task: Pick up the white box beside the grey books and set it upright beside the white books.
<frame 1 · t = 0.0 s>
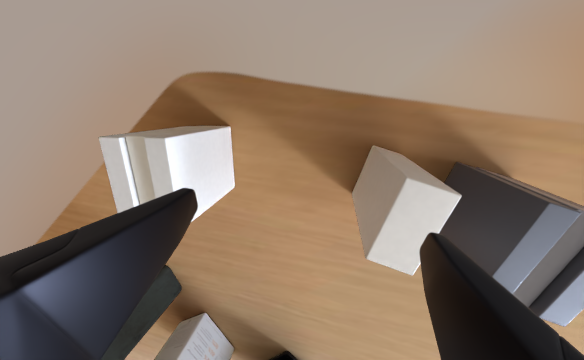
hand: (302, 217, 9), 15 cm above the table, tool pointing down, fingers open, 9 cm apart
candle: (163, 279, 33), on the table
small box: (208, 333, 35), on the table
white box: (375, 175, 23), on the table
grey books: (464, 201, 22), on the table
white books: (211, 156, 26), on the table
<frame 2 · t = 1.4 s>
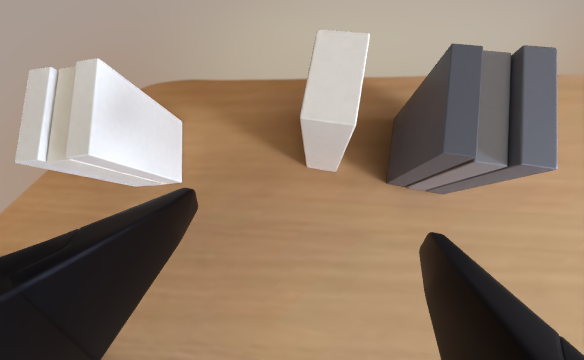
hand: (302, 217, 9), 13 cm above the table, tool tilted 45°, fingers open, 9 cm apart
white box: (325, 143, 23), on the table
grey books: (418, 154, 22), on the table
white books: (159, 154, 25), on the table
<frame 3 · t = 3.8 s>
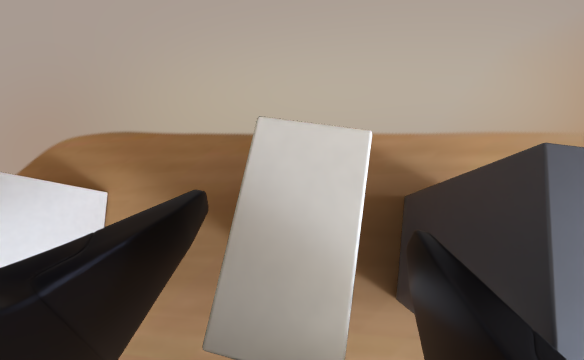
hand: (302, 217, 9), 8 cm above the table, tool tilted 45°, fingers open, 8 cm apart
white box: (306, 231, 16), on the table
grey books: (442, 253, 15), on the table
white books: (71, 240, 17), on the table
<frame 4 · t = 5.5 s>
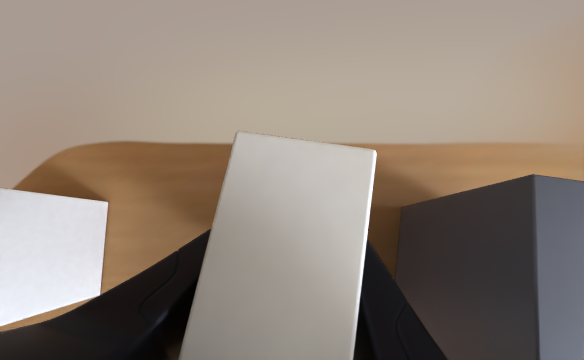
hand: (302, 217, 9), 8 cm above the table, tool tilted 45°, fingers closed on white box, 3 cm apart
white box: (303, 243, 15), point 1 cm above the table, touching gripper
grey books: (438, 263, 15), on the table
white books: (73, 249, 18), on the table
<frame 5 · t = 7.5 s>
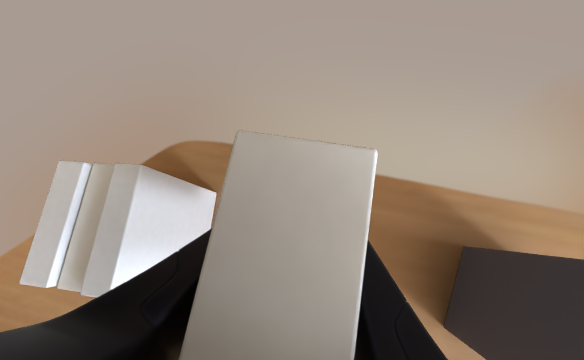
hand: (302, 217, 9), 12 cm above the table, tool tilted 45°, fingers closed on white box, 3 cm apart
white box: (303, 243, 15), point 6 cm above the table, touching gripper
grey books: (487, 299, 18), on the table
white books: (185, 225, 22), on the table
when the fingers open (7 cm above the table, at t = 10.1 s): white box stays where it is, on the table.
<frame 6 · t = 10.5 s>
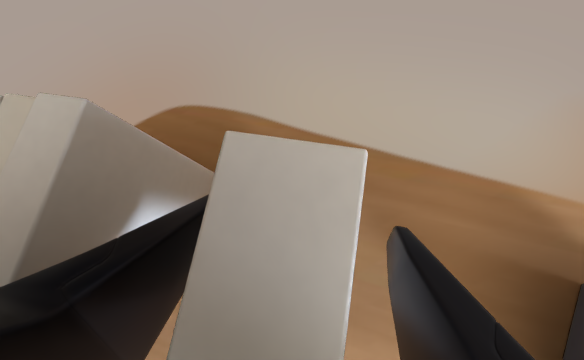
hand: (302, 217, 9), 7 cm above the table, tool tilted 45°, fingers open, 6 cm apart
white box: (299, 244, 15), on the table
white books: (175, 218, 16), on the table
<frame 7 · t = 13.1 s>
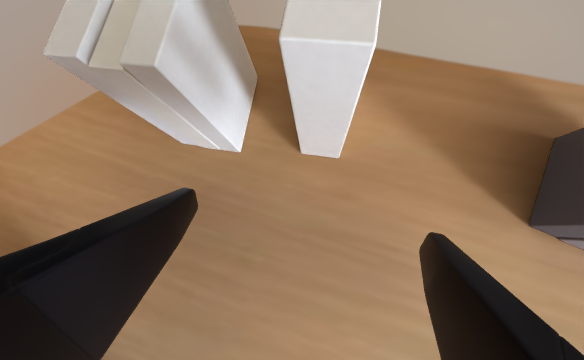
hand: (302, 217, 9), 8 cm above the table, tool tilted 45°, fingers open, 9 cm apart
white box: (324, 123, 18), on the table
white books: (220, 110, 19), on the table
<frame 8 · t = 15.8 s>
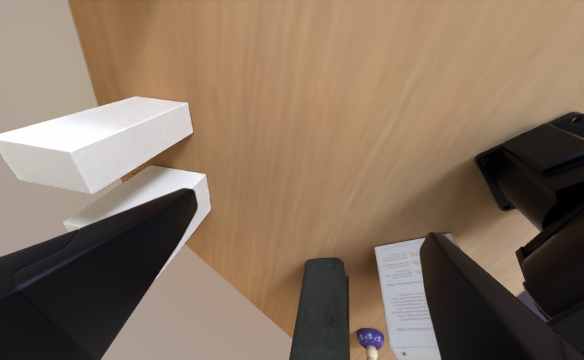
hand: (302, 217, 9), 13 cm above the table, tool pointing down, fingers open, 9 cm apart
toy lamp: (369, 332, 37), on the table
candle: (327, 269, 30), on the table
small box: (415, 254, 26), on the table
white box: (165, 114, 22), on the table
white books: (182, 187, 27), on the table
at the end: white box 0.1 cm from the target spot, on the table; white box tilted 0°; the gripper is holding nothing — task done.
